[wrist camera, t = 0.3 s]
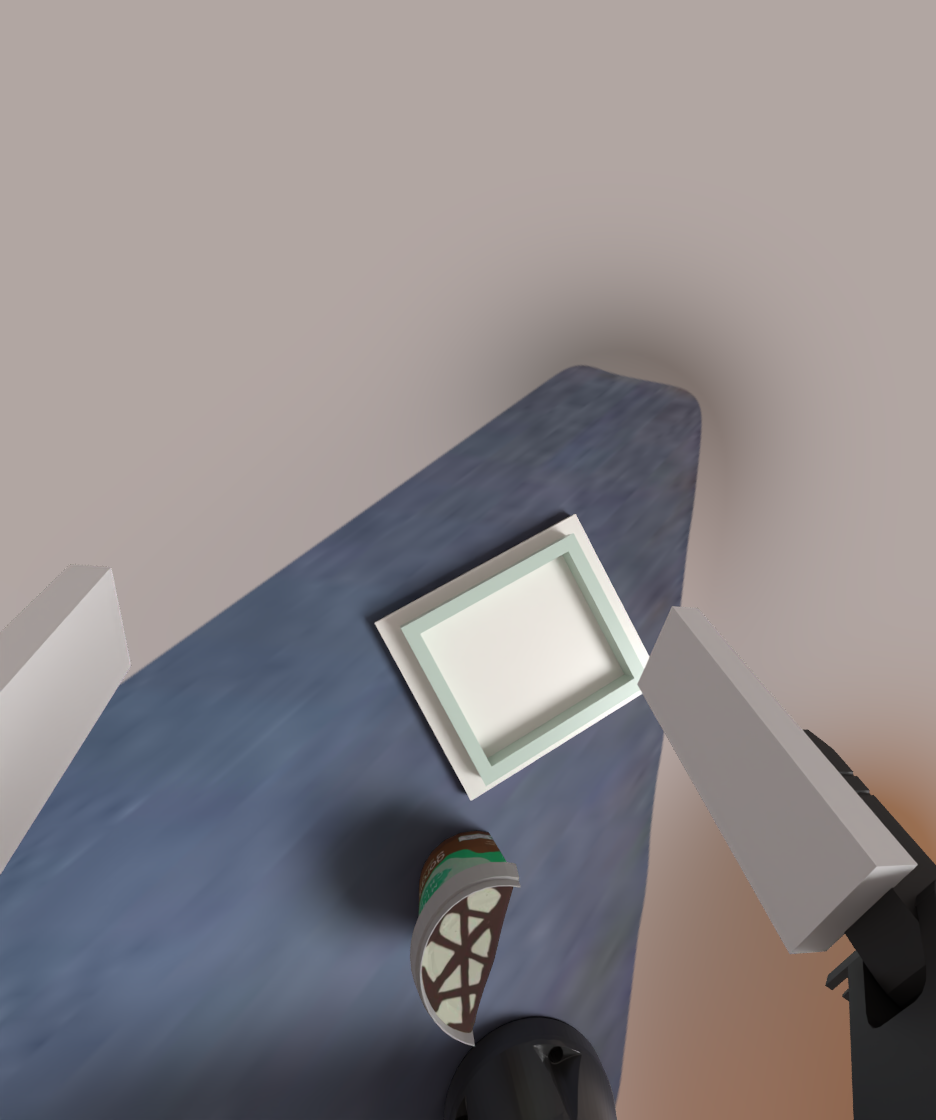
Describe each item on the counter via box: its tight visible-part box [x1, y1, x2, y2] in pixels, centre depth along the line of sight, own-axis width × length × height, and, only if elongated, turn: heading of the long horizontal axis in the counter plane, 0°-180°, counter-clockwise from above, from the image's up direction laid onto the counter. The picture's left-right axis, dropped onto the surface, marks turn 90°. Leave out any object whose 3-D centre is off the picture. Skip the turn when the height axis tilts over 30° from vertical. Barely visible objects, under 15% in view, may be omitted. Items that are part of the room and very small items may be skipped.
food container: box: [410, 831, 520, 1046], centre depth 41 cm, size 12×6×10 cm, turn 162°
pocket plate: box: [375, 514, 649, 801], centre depth 46 cm, size 18×21×3 cm
